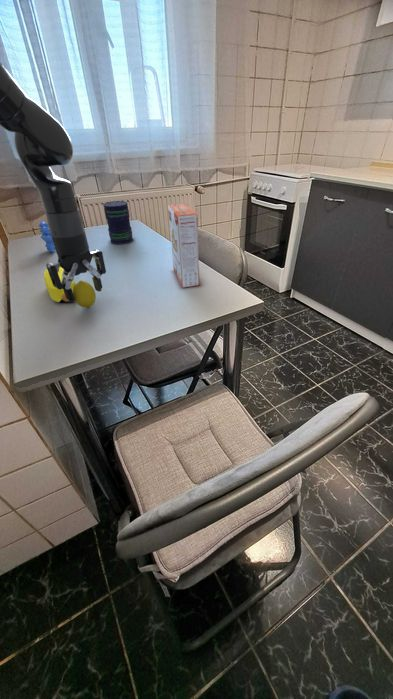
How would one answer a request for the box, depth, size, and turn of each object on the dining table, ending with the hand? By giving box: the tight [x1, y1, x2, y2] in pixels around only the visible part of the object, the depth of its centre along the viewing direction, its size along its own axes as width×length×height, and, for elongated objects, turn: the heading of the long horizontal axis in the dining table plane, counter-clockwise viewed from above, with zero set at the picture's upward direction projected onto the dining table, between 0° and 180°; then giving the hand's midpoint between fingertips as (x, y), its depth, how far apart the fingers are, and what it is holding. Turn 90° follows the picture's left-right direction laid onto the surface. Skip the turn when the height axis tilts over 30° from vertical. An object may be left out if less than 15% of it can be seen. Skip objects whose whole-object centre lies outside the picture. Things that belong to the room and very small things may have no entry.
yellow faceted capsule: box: [43, 267, 76, 303], centre depth 87 cm, size 18×7×8 cm
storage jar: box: [103, 200, 134, 245], centre depth 124 cm, size 10×10×15 cm
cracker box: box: [167, 203, 200, 289], centre depth 89 cm, size 14×6×21 cm, turn 14°
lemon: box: [73, 280, 97, 309], centre depth 78 cm, size 6×6×8 cm
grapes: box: [38, 220, 56, 253], centre depth 116 cm, size 12×7×12 cm, turn 23°
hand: (85, 295), depth 78 cm, fingers open, 7 cm apart
